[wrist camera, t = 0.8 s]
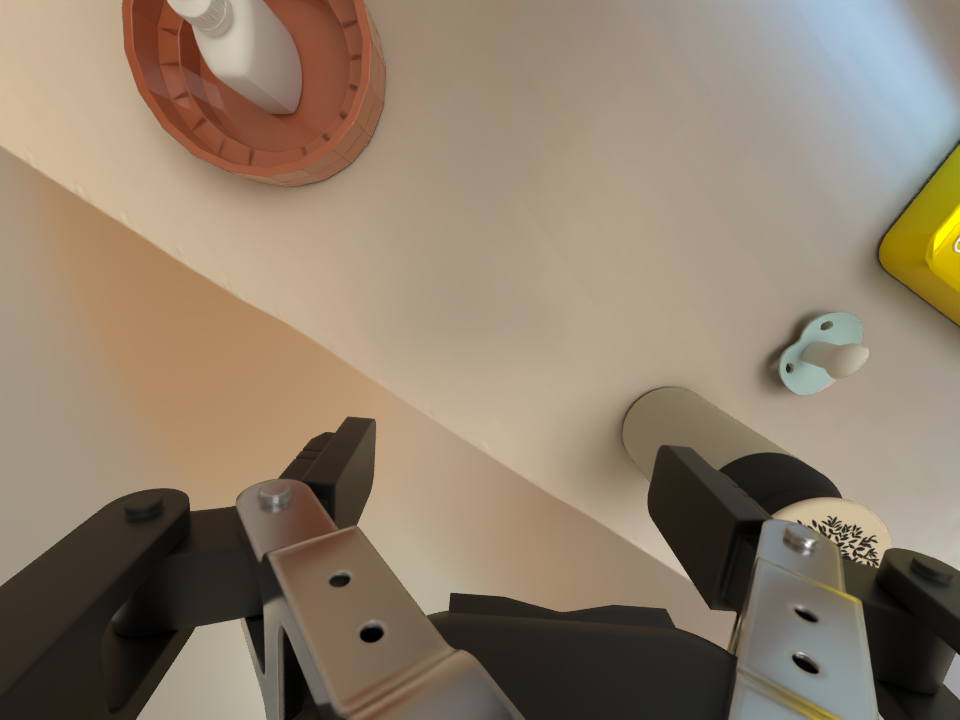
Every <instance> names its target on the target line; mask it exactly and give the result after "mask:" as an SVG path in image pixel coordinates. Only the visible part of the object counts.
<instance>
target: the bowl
mask: <svg viewBox="0 0 960 720" xmlns="http://www.w3.org/2000/svg"><path fill="white" fill-rule="evenodd" d="M263 1H264V2H265V3H266V4H267V6H268V7H269V8H270V9H271V10H272V11H273V13H274V14H275V15H276V16H277V17H278V19H279V20H280V21H281V22H282V23H283V25H284V26H285V27H286V28H287V29H288V31H289V32H290V34H291V36H292V38H293V40H294V43H295V45H296V48H297V51H298V55H299V58H300V63H301V69H302V90H301V96H300V101H299V104H298V107H297V109H296V111H295V112H294V113H292V114H270V113H267V112H266V111H264V110H263V109H261V108H260V107H258V106H257V105H255V104H254V103H252V102H251V101H249V100H248V99H246V98H245V97H243V96H242V95H241V94H239V93H238V92H236V91H235V90H233V89H232V88H230V87H229V86H228V85H226V84H225V83H223V82H222V81H221V80H219V79H218V78H217V77H216V76H215V75H214V74H213V73H212V72H211V70H210V69H209V67H208V65H207V64H206V62H205V60H204V58H203V56H202V54H201V52H200V49H199V47H198V44H197V42H196V39H195V36H194V32H193V29H192V25H191V24H190V23H189V22H188V21H186V20H185V19H184V18H183V17H181V16H180V15H179V14H178V13H176V12H175V11H174V10H173V8H171V6H170V5H169V3H168V1H167V0H123V3H122V17H123V33H124V49H125V53H126V56H127V59H128V62H129V65H130V68H131V71H132V74H133V76H134V79H135V82H136V85H137V88H138V91H139V93H140V95H141V96H142V98H143V99H144V101H145V102H146V104H147V105H148V107H149V108H150V109H151V111H152V112H153V114H154V115H155V117H156V118H157V120H158V121H159V123H160V124H161V126H162V127H163V128H164V130H166V131H167V132H168V133H169V134H170V135H171V136H172V137H174V138H175V139H176V140H177V141H178V142H179V143H180V144H182V145H183V146H184V147H185V148H186V149H187V150H189V151H190V152H191V153H192V154H193V155H194V156H196V157H198V158H200V159H202V160H204V161H207V162H209V163H211V164H213V165H215V166H217V167H220V168H222V169H224V170H226V171H228V172H231V173H234V174H237V175H240V176H243V177H246V178H249V179H252V180H255V181H258V182H261V183H267V184H275V185H283V186H291V187H293V186H300V185H304V184H309V183H314V182H318V181H323V180H326V179H327V178H329V177H330V176H332V175H334V174H335V173H337V172H338V171H340V170H342V169H343V168H345V167H346V166H348V165H350V164H351V163H352V162H353V161H354V160H355V158H356V157H357V156H358V154H359V153H360V152H361V151H362V149H363V148H364V147H365V146H366V144H367V143H368V142H369V141H370V139H371V138H372V135H373V133H374V130H375V127H376V125H377V122H378V119H379V117H380V114H381V111H382V108H383V104H384V88H385V71H386V70H385V64H384V59H383V55H382V50H381V46H380V41H379V37H378V32H377V30H376V28H375V25H374V23H373V21H372V18H371V16H370V14H369V12H368V9H367V7H366V5H365V2H364V0H263Z"/></svg>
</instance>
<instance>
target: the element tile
mask: <svg viewBox="0 0 960 720" xmlns="http://www.w3.org/2000/svg"><path fill="white" fill-rule="evenodd" d="M879 260H880V262H881V264H882V266H883V267H884V268H885V269H886V271H888V272H889V273H890V274H892V275H893V276H894V277H896V278H897V279H898V280H899V281H901V282H902V283H903V284H905V285H906V286H907V287H909V288H910V289H911V290H913V291H914V292H915V293H917V294H918V295H919V296H921V297H922V298H923V299H925V300H926V301H927V302H929V303H930V304H931V305H933V306H934V307H935V308H937V309H938V310H939V311H941V312H942V313H943V314H945V315H946V316H947V317H949V318H950V319H951V320H953V321H954V322H955V323H957V324H958V325H959V326H960V144H959V145H958V146H957V147H956V149H955V150H954V151H953V152H952V153H951V155H950V156H949V157H948V158H947V160H946V161H945V162H944V163H943V165H942V166H941V167H940V168H939V170H938V171H937V172H936V173H935V175H934V176H933V177H932V178H931V180H930V181H929V182H928V183H927V184H926V186H925V187H924V188H923V189H922V191H921V192H920V193H919V194H918V196H917V197H916V198H915V199H914V201H913V202H912V203H911V204H910V206H909V207H908V208H907V209H906V211H905V212H904V213H903V214H902V216H901V217H900V218H899V219H898V220H897V222H896V223H895V224H894V225H893V227H892V228H891V229H890V230H889V232H888V233H887V234H886V235H885V237H884V239H883V241H882V243H881V246H880V249H879Z"/></svg>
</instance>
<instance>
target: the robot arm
mask: <svg viewBox="0 0 960 720" xmlns="http://www.w3.org/2000/svg"><path fill="white" fill-rule="evenodd" d="M375 440H376V421H375V419H370V418H359V417H347V418H346V419H345V421H344V422H343V423H342V424H341V426H340V427H339V429H338V430H337V431H336V433H331V432H325V433H323V434H321V435H319V436H317V437H315V438H313V439H311V440H310V441H309V442H308V444H307V445H306V446H305V447H304V448H303V451H301V452H300V453H299V454H298V456H297V457H296V459H294V460H293V461H292V463H291V464H290V465H289V466H288V467H287V468H286V470H285V471H284V472H283V473H282V474H281V476H280V477H279V478H278V479H273V480H268V481H263V482H260V483H257V484H254V485H252V486H250V487H248V488H247V489H245V490H244V491H242V492H241V493H240V494H239V495H238V497H237V499H236V506H232V507H226V508H219V509H208V510H199V511H190V504H189V497H188V496H187V494H185V493H184V492H182V491H179V490H175V489H167V488H160V489H150V490H144V491H139V492H135V493H132V494H129V495H126V496H123V497H121V498H118V499H116V500H114V501H112V502H111V503H109V504H107V505H106V506H104V507H103V508H102V509H101V510H99V511H98V512H97V513H95V514H94V515H93V516H92V517H90V518H89V519H88V520H86V521H85V522H84V523H83V524H81V525H80V526H78V527H77V528H76V529H75V530H73V531H72V532H71V533H69V534H68V535H67V536H65V537H64V538H63V539H62V540H60V541H59V542H58V543H56V544H55V545H54V546H52V547H51V548H50V549H49V550H47V551H46V552H45V553H43V554H42V555H41V556H39V557H38V558H37V559H36V560H34V561H33V562H32V563H30V564H29V565H28V566H27V567H25V568H24V569H23V570H21V571H20V572H19V573H17V574H16V575H15V576H13V577H12V578H11V579H10V580H8V581H7V582H6V583H4V584H3V585H2V586H0V720H136V718H137V716H138V715H139V714H140V712H141V711H142V709H143V708H144V706H145V705H146V703H147V702H148V700H149V698H150V697H151V695H152V694H153V692H154V691H155V689H156V688H157V686H158V685H159V683H160V682H161V680H162V679H163V677H164V675H165V674H166V672H167V671H168V669H169V668H170V666H171V665H172V663H173V662H174V660H175V658H176V657H177V655H178V654H179V653H180V651H181V649H182V648H183V646H184V645H185V643H186V642H187V640H188V639H189V637H190V636H191V634H192V633H193V631H194V629H195V627H197V626H203V625H208V624H213V623H219V622H223V621H229V620H235V619H240V618H241V625H242V628H243V632H244V635H245V639H246V642H247V645H248V649H249V652H250V655H251V659H252V662H253V665H254V669H255V672H256V675H257V678H258V682H259V685H260V689H261V692H262V696H263V700H264V705H265V712H266V718H267V720H879V714H880V715H881V716H882V717H883V718H884V720H960V700H959V699H958V698H957V697H956V696H955V695H954V694H953V693H952V692H951V691H950V690H949V689H948V688H947V687H946V686H945V685H944V684H943V681H944V678H945V676H946V674H947V671H948V669H949V667H950V665H951V663H952V661H953V658H954V656H955V654H956V652H957V653H958V654H959V655H960V571H958V570H957V569H955V568H953V567H951V566H949V565H947V564H946V563H943V562H942V561H939V560H937V559H935V558H932V557H930V556H927V555H924V554H921V553H918V552H914V551H910V550H906V549H900V548H890V549H887V550H886V551H885V552H884V555H883V557H882V560H881V563H880V565H879V568H877V567H873V566H869V565H866V564H862V563H858V562H854V561H850V560H846V559H842V553H841V550H840V549H839V547H838V546H837V545H836V544H835V543H834V542H833V541H831V540H830V539H829V538H827V537H826V536H824V535H823V534H821V533H819V532H817V531H815V530H813V529H811V528H809V527H807V526H804V525H801V524H798V523H795V522H792V521H787V520H781V519H774V518H773V517H772V516H771V515H770V514H768V513H767V512H766V511H765V510H764V509H763V508H762V507H761V506H760V505H759V504H758V503H756V502H755V501H754V500H753V499H752V498H749V495H748V494H747V493H745V492H744V491H743V490H742V489H741V488H739V486H738V485H737V484H736V483H735V482H733V481H732V480H731V479H730V478H729V477H728V476H727V475H725V474H723V473H722V472H720V471H718V470H716V469H715V468H713V467H712V466H711V465H710V464H708V463H707V462H706V461H705V460H704V459H703V458H702V457H701V456H700V455H699V454H698V453H697V452H696V451H695V450H693V449H692V448H691V447H685V446H674V445H661V446H660V448H659V449H658V452H657V455H656V460H655V464H654V469H653V474H652V478H651V483H650V487H649V492H648V510H649V514H650V517H651V518H652V520H653V522H654V523H655V525H656V526H657V528H658V529H659V531H660V532H661V534H662V536H663V537H664V539H665V540H666V542H667V543H668V545H669V546H670V548H671V549H672V551H673V553H674V554H675V556H676V557H677V559H678V560H679V562H680V563H681V565H682V566H683V568H684V570H685V571H686V573H687V574H688V576H689V577H690V579H691V580H692V582H693V583H694V585H695V587H696V588H697V590H698V591H699V593H700V594H701V596H702V597H703V599H704V600H705V602H706V603H707V605H708V606H709V608H710V610H722V611H736V613H737V614H736V618H735V621H734V624H733V628H732V632H731V637H730V641H729V645H728V649H727V651H726V650H725V649H723V648H721V647H719V646H718V645H716V644H714V643H712V642H710V641H708V640H706V639H704V638H702V637H700V636H697V635H695V634H692V633H690V632H687V631H684V630H681V629H678V628H676V627H675V625H674V624H673V622H672V620H671V618H670V616H669V614H668V612H667V610H666V609H662V608H648V607H635V606H622V605H610V606H603V607H597V608H590V609H583V610H577V611H570V612H558V611H554V610H550V609H546V608H543V607H539V606H536V605H532V604H528V603H525V602H521V601H517V600H514V599H510V598H506V597H500V596H486V595H473V594H459V593H451V594H450V604H449V611H443V612H438V613H434V614H431V615H427V616H426V615H425V614H424V612H423V611H422V610H421V608H420V607H419V606H418V604H417V603H416V602H415V600H414V599H413V598H412V597H411V595H410V594H409V593H408V591H407V590H406V589H405V587H404V586H403V585H402V583H401V582H400V581H399V580H398V578H397V577H396V576H395V574H394V573H393V572H392V570H391V569H390V568H389V566H388V565H387V564H386V562H385V561H384V560H383V558H382V557H381V556H380V554H379V553H378V552H377V550H376V549H375V548H374V546H373V545H372V544H371V543H370V541H369V540H368V539H367V537H366V536H365V535H364V533H363V532H362V531H361V530H360V528H359V527H357V523H358V521H359V519H360V516H361V514H362V512H363V509H364V507H365V504H366V502H367V499H368V497H369V495H370V492H371V489H372V484H373V477H374V461H375ZM878 712H879V714H878Z"/></svg>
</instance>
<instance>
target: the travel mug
mask: <svg viewBox="0 0 960 720" xmlns="http://www.w3.org/2000/svg"><path fill="white" fill-rule="evenodd" d="M622 437H623V443H624V447H625V449H626V451H627V453H628V455H629V456H630V457H631V459H632V460H633V461H634V463H635V464H636V465H637V466H638V468H639V469H640V470H641V472H642V473H643V474H644V476H645V477H646V478H647V479H648V481H649V482H650V483H651V478H652V474H653V469H654V464H655V460H656V455H657V452H658V449H659V448H660V446H661V445H674V446H685V447H691V448H692V449H693V450H695V451H696V452H697V453H698V454H699V455H700V456H701V457H702V458H703V459H704V460H705V461H706V462H707V463H708V464H710V465H711V466H712V467H713V468H715V469H716V470H718V471H720V472H722V473H723V474H725V475H727V476H728V477H729V478H730V479H731V480H732V481H733V482H735V483H736V484H737V485H738V486H739V488H741V489H742V490H743V491H744V492H745V493H747V494H748V495H749V498H752V499H753V500H754V501H755V502H756V503H758V504H759V505H760V506H761V507H762V508H763V509H764V510H765V511H766V512H767V513H768V514H770V515H771V516H772V517H773V518H774V519H781V520H787V521H792V522H795V523H798V524H801V525H804V526H807V527H809V528H811V529H813V530H815V531H817V532H819V533H821V534H823V535H824V536H826V537H827V538H829V539H830V540H831V541H833V542H834V543H835V544H836V545H837V546H838V547H839V549H840V550H841V553H842V559H846V560H850V561H854V562H858V563H862V564H866V565H869V566H873V567H877V568H879V565H880V563H881V560H882V557H883V555H884V552H885V551H886V550H887V549H890V548H892V544H891V540H890V536H889V534H888V531H887V529H886V527H885V526H884V524H883V523H882V521H881V520H880V519H879V518H878V517H877V516H876V515H875V514H874V513H873V512H872V511H870V510H869V509H867V508H866V507H864V506H862V505H860V504H858V503H856V502H853V501H850V500H846V499H842V497H841V494H840V492H839V491H838V489H837V487H836V486H835V485H834V484H833V483H832V482H831V481H830V480H829V479H828V478H827V477H826V476H824V475H823V474H821V473H820V472H818V471H817V470H815V469H814V468H812V467H810V466H809V465H807V464H806V463H804V462H803V461H801V460H799V459H798V458H796V457H795V456H793V455H791V454H790V453H788V452H787V451H785V450H784V449H782V448H780V447H779V446H777V445H776V444H774V443H773V442H771V441H769V440H768V439H766V438H765V437H763V436H761V435H760V434H758V433H757V432H755V431H754V430H752V429H750V428H749V427H747V426H746V425H744V424H743V423H741V422H739V421H738V420H736V419H735V418H733V417H731V416H730V415H728V414H727V413H725V412H724V411H722V410H720V409H719V408H717V407H716V406H714V405H713V404H711V403H709V402H708V401H706V400H705V399H703V398H701V397H700V396H698V395H697V394H695V393H693V392H691V391H689V390H687V389H683V388H677V387H667V388H661V389H657V390H655V391H652V392H650V393H648V394H646V395H645V396H643V397H642V398H640V399H639V400H638V401H637V402H636V403H635V404H634V405H633V406H632V408H631V409H630V411H629V412H628V414H627V416H626V418H625V421H624V425H623V431H622Z"/></svg>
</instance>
